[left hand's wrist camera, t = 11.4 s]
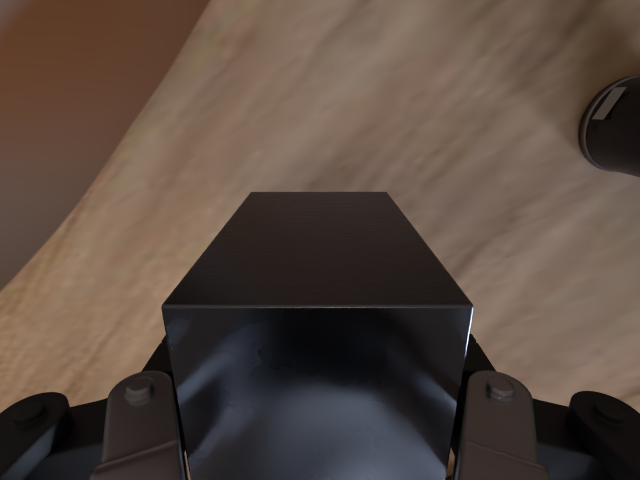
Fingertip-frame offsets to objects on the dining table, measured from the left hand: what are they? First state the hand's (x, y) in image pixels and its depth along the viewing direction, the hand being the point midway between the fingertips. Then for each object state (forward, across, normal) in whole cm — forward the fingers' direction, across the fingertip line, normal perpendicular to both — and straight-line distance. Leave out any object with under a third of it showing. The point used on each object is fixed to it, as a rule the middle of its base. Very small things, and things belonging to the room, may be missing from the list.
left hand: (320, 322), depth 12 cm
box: (+5, 0, -8) cm, 9 cm away
